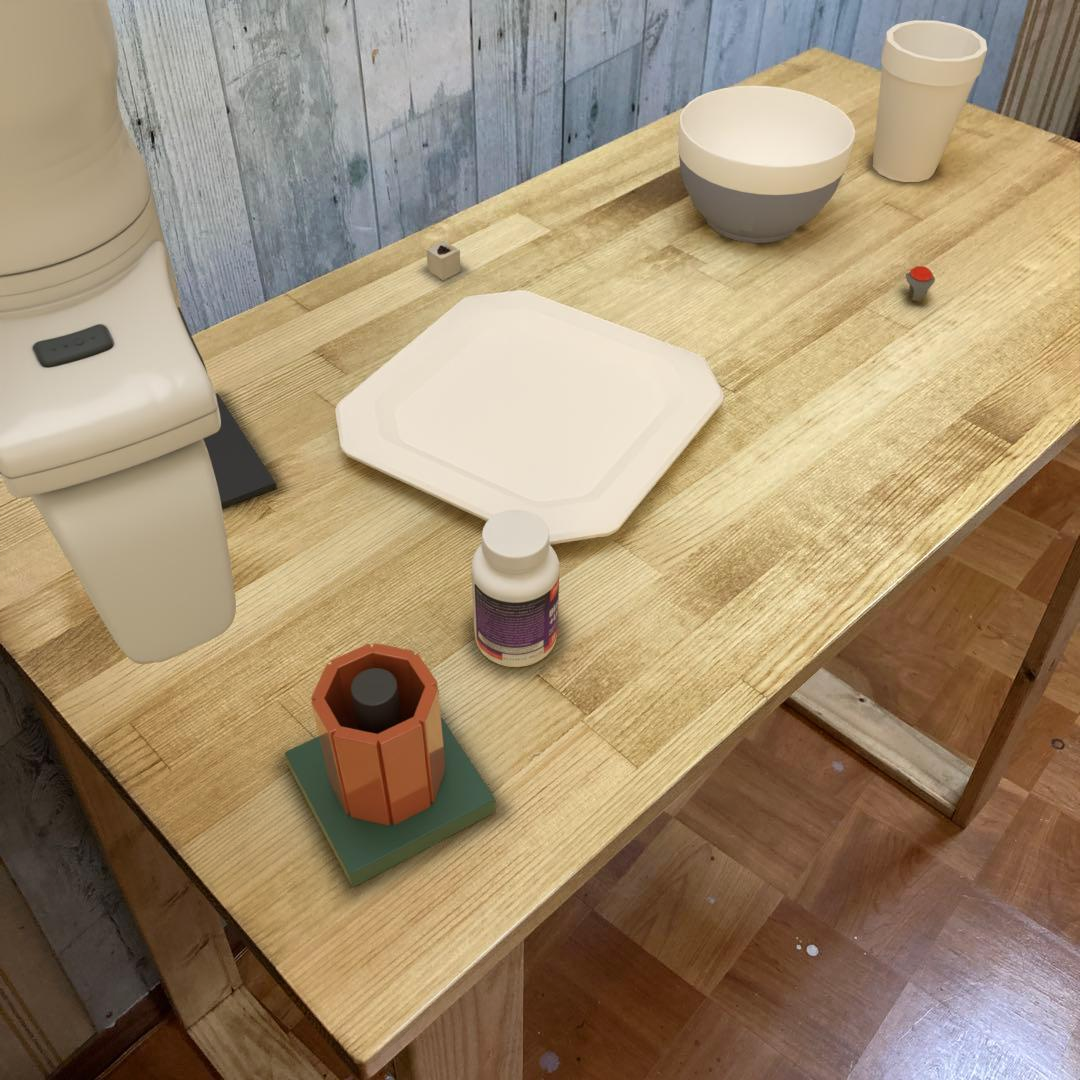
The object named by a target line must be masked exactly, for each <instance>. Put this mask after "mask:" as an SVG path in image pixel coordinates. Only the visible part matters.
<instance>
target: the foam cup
mask: <svg viewBox="0 0 1080 1080" xmlns="http://www.w3.org/2000/svg"><path fill="white" fill-rule="evenodd" d="M987 53H988V45H987V40H986V38H984V37H982V36H981V35H980V34H979V33H978V32H977V31H975V30H972V29H970V28H967V27H964V26H962V25H959V24H957V23H950V22H945V21H940V20H910V21H905V22H900V23H896V24H895V25H893V26H892V27H890V28H889V29H888V30H886V34H885V38H884V42H883V45H882V50H881V55H880V58H881V59H880V61H881V62H880V63H881V74H880V85H879V94H878V95H879V96H878V103H877V104H878V105H877V114H876V124H875V134H874V143H873V153H872V155H873V156H872V157H873V158H872V159H873V160H872V168H873V169H874V170H875V171H876V172H877V174H878V175H880V176H883V177H885V178H887V179H888V180H892V181H897V182H901V183H919V182H924V181H927V180H929V179H930V178H931V177H933V175H935V173H936V169H937V168H938V166H939V164H940V161H941V159H942V157H943V155H944V153H945V150H946V148H947V145H948V143H949V141H950V139H951V137H952V135H953V132H954V129H955V128H956V125H957V122H958V120H959V119H960V117H961V113H962V111H963V109H964V107H965V104H966V102H967V100H968V98H969V95H970V94H971V91H972V88H973V86H974V84H975V81H976V80H977V78H978V77H979V75H981V72H982V69H983V66H984V62H985V60H986V55H987Z"/></svg>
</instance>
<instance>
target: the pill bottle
mask: <svg viewBox="0 0 1080 1080" xmlns="http://www.w3.org/2000/svg"><path fill="white" fill-rule="evenodd" d="M470 567H471V568H470V569H471V575H470V576H471V592H472V594H471V595H472V612H473V631H474V639H475V643H476V646H477V648H478V649H479V651H480V652H481V654H483V656H485V657H486V658H487V659H488V660H489V661H491V662H492V663H495V664H497V665H500V666H503V667H507V668H508V667H509V668H520V667H527V666H531V665H534V664H535V663H538V662H540V661H541V660H543V659H544V658H546V657H547V656H548V655H549V654H550V653H551V652H552V651H553V649H554V647H555V645H556V642H557V638H558V626H559V598H560V573H561V571H560V570H561V568H560V561H559V557H558V555H557V553H556V551H555V549H554V548H553V546H552V545H550V544H549V530H548V527H547V525H546V523H545V522H544V521H543V520H542V519H541V518H540V517H538V516H537V515H535V514H533V513H530V512H528V511H522V510H509V511H504V512H501V513H498V514H496V515H494V516H493V517H491V518H490V519H489V520H488V521H485V523H484V525H483V528H482V532H481V543H480V545H479V546H478V547H477V548H476V551H475V552H474V554H473V556H472V560H471V566H470Z"/></svg>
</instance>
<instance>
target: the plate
mask: <svg viewBox="0 0 1080 1080" xmlns="http://www.w3.org/2000/svg"><path fill="white" fill-rule="evenodd" d="M724 400H725V392H723V390H722V387H721V386H720V384H719V382H718V380H717V378H716V376H715V374H714V372H713V371H712V368H711V367H710V365H709V363H708V361H707V360H706V358H704V357H703V356H702V355H700V354H698V353H696V352H693V351H690V350H688V349H685V348H682V347H679V346H677V345H675V344H672V343H669V342H666V341H664V340H661V339H658V338H656V337H652V336H650V335H648V334H644V333H642V332H640V331H637V330H634V329H631V328H629V327H625V326H623V325H620V324H617V323H615V322H613V321H610V320H607V319H605V318H601V317H599V316H597V315H593V314H591V313H589V312H585V311H583V310H581V309H578V308H575V307H572V306H569V305H567V304H563V303H562V302H559V301H556V300H553V299H551V298H547V297H545V296H542V295H539V294H537V293H534V292H531V291H529V290H523V289H518V290H508V291H501V292H493V293H484V294H483V293H482V294H476V295H469V296H466V297H464V298H462V299H461V300H459V301H458V302H457V303H456V304H455V305H453V306H452V307H450V309H448V310H447V311H446V312H445V313H443V315H441V316H439V318H437V319H436V320H435V321H434V322H433V323H431V324H430V325H429V326H428V327H427V328H425V330H423V331H422V332H421V333H420V334H418V336H416V337H415V338H414V339H413V340H412V341H410V342H409V343H407V345H405V346H404V347H402V349H400V351H398V352H397V353H396V354H394V355H393V356H392V357H391V358H390V359H389V360H387V361H386V362H385V363H384V364H382V366H380V367H378V368H377V369H376V370H375V371H374V372H373V373H371V375H369V376H368V377H367V378H366V379H364V380H363V381H362V382H361V383H360V384H359V385H357V386H356V387H355V388H353V390H351V391H350V392H349V393H348V394H346V396H344V397H343V398H342V399H340V400H339V402H338V403H337V404H336V406H335V409H334V414H335V420H336V426H337V434H338V440H339V441H338V442H339V448H340V450H341V451H342V452H343V454H344V455H345V456H346V457H347V458H350V459H352V460H354V461H356V462H359V463H361V464H363V465H365V466H368V467H369V468H371V469H373V470H376V471H378V472H380V473H383V474H385V475H387V476H389V477H391V478H393V479H395V480H398V481H400V482H401V483H404V484H406V485H408V486H410V487H412V488H414V489H417V490H418V491H421V492H423V493H425V494H427V495H429V496H432V497H434V498H436V499H439V500H440V501H442V502H444V503H447V504H449V505H450V506H453V507H455V508H457V509H459V510H462V511H463V512H466V513H468V514H470V515H472V516H475V517H476V518H478V519H481V520H483V521H485V522H487V521H488V520H489V519H490V518H491V517H493V516H494V515H496V514H498V513H501V512H504V511H509V510H522V511H528V512H530V513H533V514H535V515H537V516H538V517H540V518H541V519H542V520H543V521H544V522H545V523H546V525H547V527H548V530H549V544H550V546H552V545H557V544H565V543H572V542H577V541H584V540H589V539H597V538H602V537H603V538H604V537H609V536H611V535H612V534H614V533H617V532H618V531H619V530H620V528H621V527H622V526H623V525H624V524H625V522H626V521H627V520H628V518H629V517H630V516H631V515H632V514H633V513H634V512H635V510H636V509H637V508H638V506H639V505H640V504H641V503H642V502H643V501H644V500H645V498H646V497H647V496H648V494H649V493H650V492H651V491H652V490H653V488H655V486H656V485H657V483H658V482H659V481H660V479H662V478H663V476H664V475H665V474H666V472H667V471H668V470H669V469H670V468H671V467H672V465H674V463H675V462H676V461H677V459H678V458H679V457H680V455H681V454H682V453H683V452H684V451H685V450H686V448H687V447H688V446H689V444H691V442H692V441H693V440H694V439H695V437H696V436H697V435H698V434H699V433H700V431H702V429H703V427H704V426H705V425H706V424H707V423H708V422H709V420H710V419H711V418H712V417H713V415H714V414H715V413H716V412H717V411H718V409H719V408H720V407H721V406H722V404H723V403H724Z"/></svg>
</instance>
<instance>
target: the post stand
mask: <svg viewBox="0 0 1080 1080" xmlns="http://www.w3.org/2000/svg"><path fill="white" fill-rule="evenodd" d="M351 695H352V700H353V705H354V711H355V716H356V721H357V727H358V730H361V731H366V732H370V733H375V734H378V733H381V732H383V731H385V730H387V729H389V728H391V727H393V726H395V725H397V724H399V723H402V715H401V708H400V700H399V693H398V686H397V681H396V678H395V677H394V676H393V675H392V674H391V673H390V672H389V671H387V670H384V669H380V668H372V669H368V670H365V671H363V672H361V673H360V674H358V675H357V676H356V677H355V679H354V680H353V682H352V684H351ZM441 726H442V736H443V747H444V758H445V769H446V770H445V773H444V776H443V779H442V782H441V784H440V787H439V790H438V793H437V796H436V799H435V802H434V803H431V802H430V804H431V807H429V808H427V809H425V810H423V811H421V812H419V813H417V814H416V815H414V816H412V817H410V818H408V819H406V820H404V821H402V822H400V823H398V824H396V825H394V824H393V823H392V821H391V823H390V825H389V826H388V825H384V824H379V823H375V822H370V821H366V820H362V819H357V818H353V817H351V816H350V813H349V814H346V812H345V810H344V808H343V807H342V805H341V803H340V801H339V799H338V798H337V796H336V794H335V792H334V790H333V788H332V787H331V785H330V781H329V777H328V772H327V768H326V764H325V759H324V755H323V751H322V747H321V742H320V738H319V735H318V736H316V737H314V738H312V739H310V740H308V741H305V742H303V743H301V744H299V745H297V746H295V747H293V748H290V749H289V750H286V751H284V757H285V759H286V763H287V767H288V769H289V771H290V773H291V774H292V777H293V778H294V781H295V782H296V784H297V786H298V788H299V790H300V792H301V794H302V795H303V797H304V799H305V801H306V803H307V805H308V807H309V809H310V810H311V813H312V814H313V817H314V818H315V820H316V822H317V823H318V826H319V827H320V829H321V831H322V833H323V835H324V836H325V839H326V841H327V843H328V845H329V846H330V848H331V851H332V852H333V854H334V856H335V858H336V860H337V861H338V863H339V865H340V867H341V869H342V871H343V873H344V875H345V877H346V878H347V879H346V880H348V882H349V885H350V886H351V888H355V887H356V886H358V885H360V884H362V883H364V882H366V881H368V880H370V879H371V878H373V877H375V876H377V875H379V874H381V873H384V872H385V871H387V870H389V869H390V868H392V867H395V866H396V865H398V864H400V863H401V862H404V861H406V860H407V859H409V858H412V857H413V856H416V855H417V854H419V853H421V852H422V851H425V850H427V849H429V848H430V847H432V846H434V845H436V844H438V843H440V842H442V841H443V840H446V839H448V838H449V837H451V836H453V835H455V834H456V833H459V832H461V831H463V830H464V829H466V828H468V827H470V826H472V825H474V824H476V823H478V822H479V821H481V820H484V819H485V818H487V817H489V816H491V815H492V814H495V813H496V798H495V796H494V794H493V793H492V791H491V790H490V789H489V787H488V786H487V784H486V782H485V780H484V779H483V777H482V776H481V775H480V773H479V772H478V770H477V768H476V767H475V766H474V764H473V762H472V761H471V759H470V758H469V757H468V755H467V753H466V752H465V750H464V748H463V747H462V746H461V744H460V743H459V741H458V740H457V738H456V737H455V735H454V734H453V732H452V731H451V729H450V728H449V726H448V725H447V723H446V721H445V720H444V718H443V717H442V716H441Z"/></svg>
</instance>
